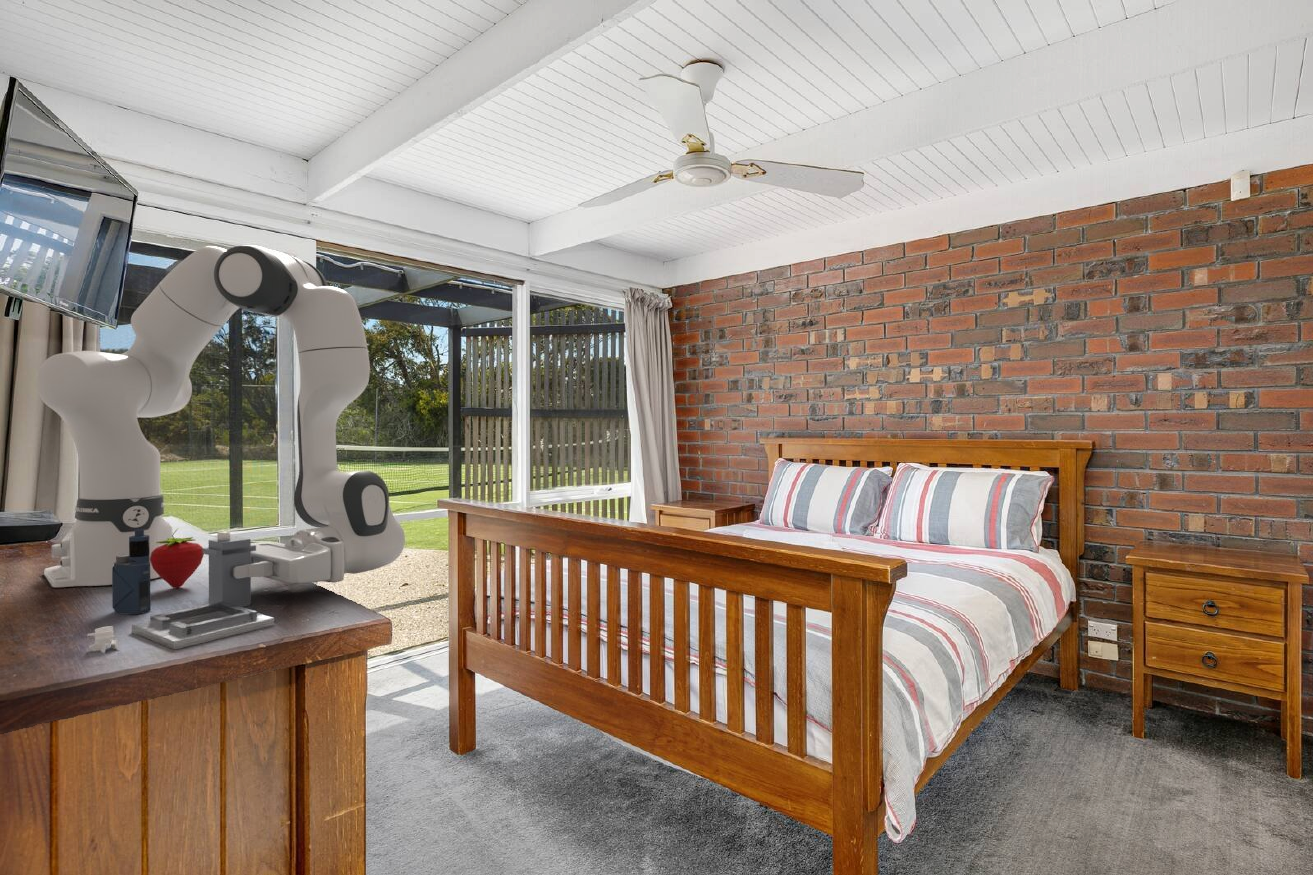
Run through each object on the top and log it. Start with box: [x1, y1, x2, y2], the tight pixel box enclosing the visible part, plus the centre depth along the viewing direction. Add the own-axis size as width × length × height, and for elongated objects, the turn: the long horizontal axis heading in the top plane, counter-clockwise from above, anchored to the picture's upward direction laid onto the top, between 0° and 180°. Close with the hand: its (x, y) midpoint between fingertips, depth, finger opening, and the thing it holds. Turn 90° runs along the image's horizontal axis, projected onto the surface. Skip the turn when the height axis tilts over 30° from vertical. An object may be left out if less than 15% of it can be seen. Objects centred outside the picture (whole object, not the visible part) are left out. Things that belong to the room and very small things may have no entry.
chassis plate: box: [131, 601, 275, 651], centre depth 91 cm, size 12×12×2 cm
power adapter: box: [87, 625, 120, 654], centre depth 82 cm, size 3×3×3 cm
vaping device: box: [111, 529, 151, 615], centre depth 98 cm, size 3×5×12 cm, turn 79°
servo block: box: [202, 531, 256, 607], centre depth 102 cm, size 4×6×11 cm
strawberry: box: [150, 529, 205, 589], centre depth 112 cm, size 6×8×10 cm
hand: (223, 570), depth 101 cm, fingers closed on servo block, 4 cm apart
